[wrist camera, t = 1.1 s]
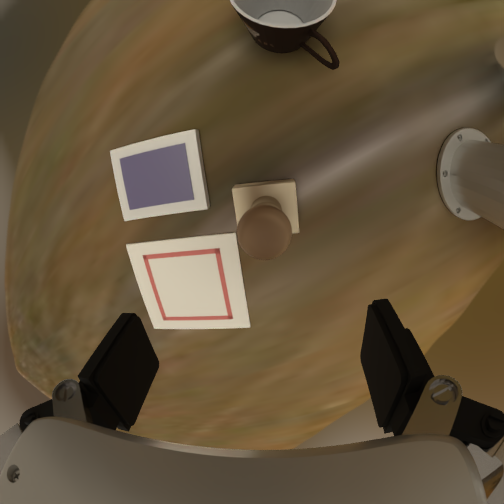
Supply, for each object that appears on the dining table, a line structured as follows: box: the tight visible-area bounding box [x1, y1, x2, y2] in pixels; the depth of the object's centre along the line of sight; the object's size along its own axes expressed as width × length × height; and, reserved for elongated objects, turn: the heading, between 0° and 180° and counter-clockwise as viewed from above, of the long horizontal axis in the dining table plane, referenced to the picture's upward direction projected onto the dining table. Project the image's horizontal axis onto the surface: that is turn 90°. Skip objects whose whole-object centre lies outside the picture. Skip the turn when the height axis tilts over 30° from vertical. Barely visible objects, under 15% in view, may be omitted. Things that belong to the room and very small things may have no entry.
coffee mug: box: [230, 0, 339, 70], centre depth 18 cm, size 12×9×10 cm
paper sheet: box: [126, 232, 251, 329], centre depth 36 cm, size 15×14×1 cm
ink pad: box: [110, 129, 210, 221], centre depth 29 cm, size 11×9×2 cm
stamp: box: [232, 179, 299, 260], centre depth 25 cm, size 6×5×12 cm
